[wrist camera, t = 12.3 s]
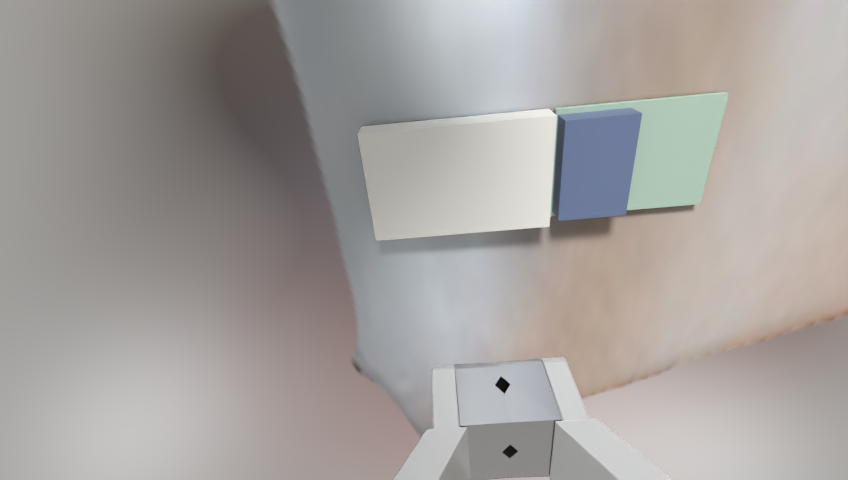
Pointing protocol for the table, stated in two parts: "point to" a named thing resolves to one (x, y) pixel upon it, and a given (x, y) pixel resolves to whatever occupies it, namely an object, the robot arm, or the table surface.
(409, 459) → the robot arm
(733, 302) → the table surface
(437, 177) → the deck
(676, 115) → the mat
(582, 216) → the tile
